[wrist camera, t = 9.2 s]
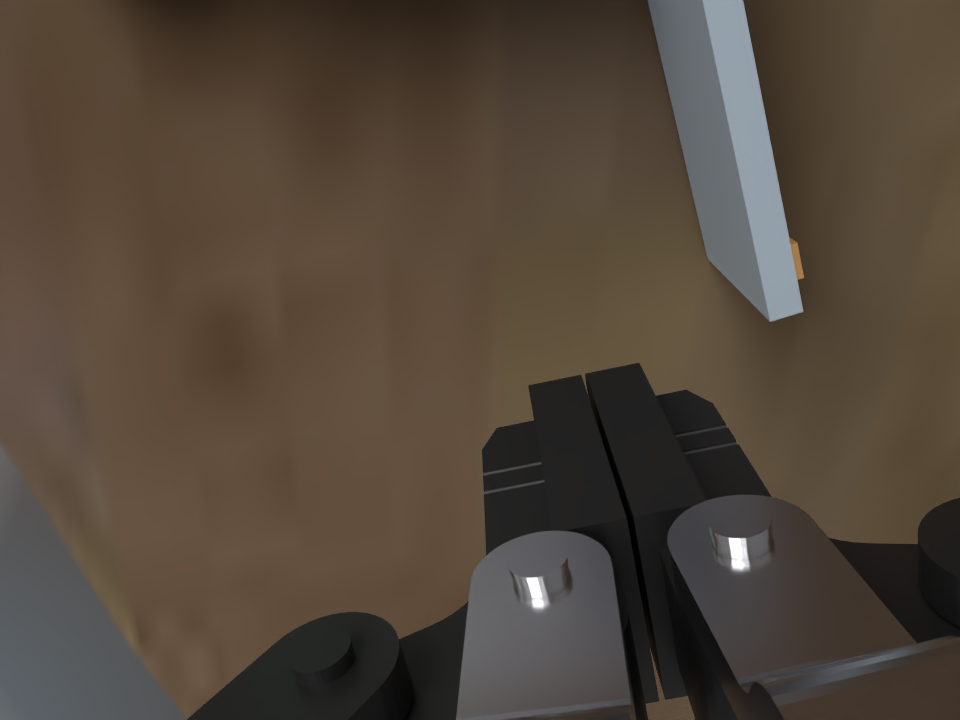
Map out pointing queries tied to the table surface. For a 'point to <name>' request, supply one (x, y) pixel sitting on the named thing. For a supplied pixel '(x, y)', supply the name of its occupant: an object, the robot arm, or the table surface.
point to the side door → (728, 149)
